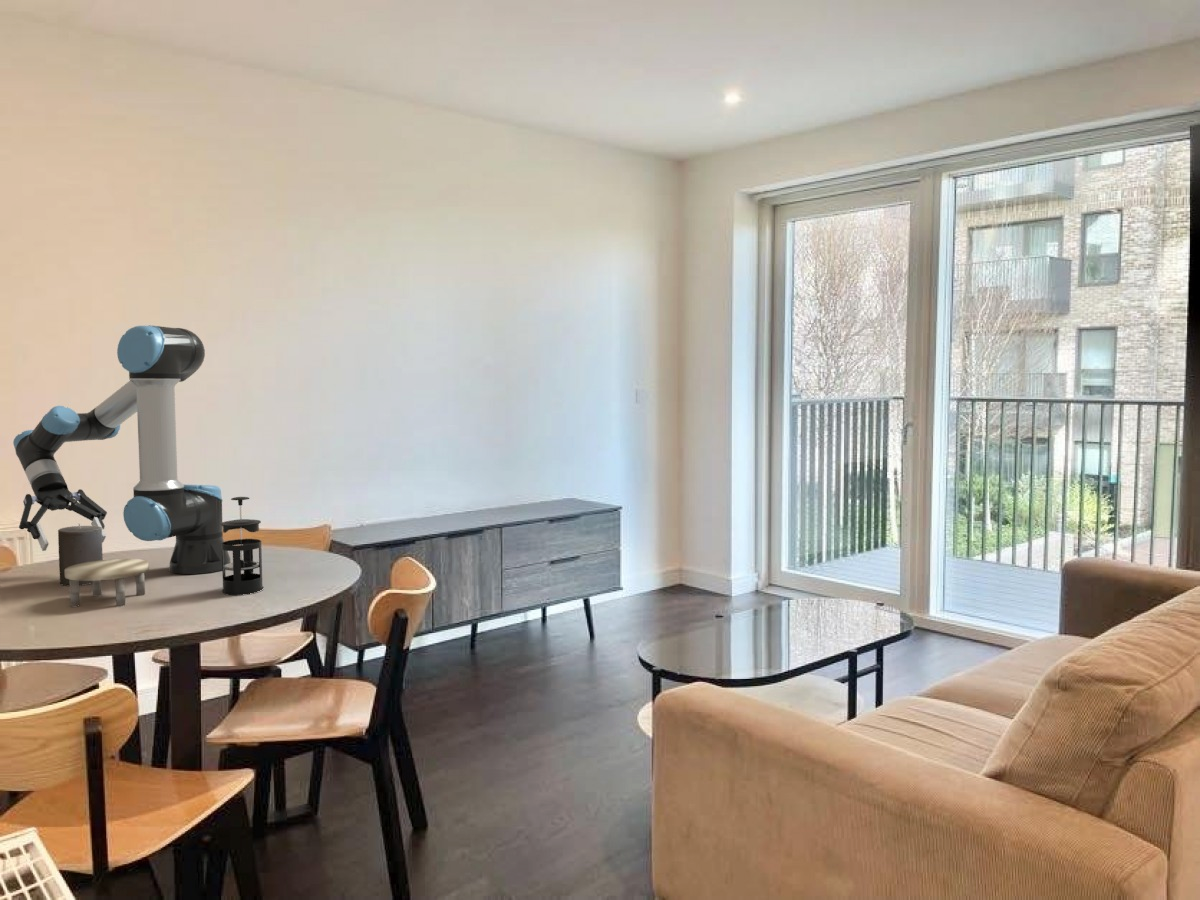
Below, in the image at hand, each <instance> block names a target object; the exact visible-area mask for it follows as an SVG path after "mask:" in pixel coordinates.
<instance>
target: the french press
mask: <svg viewBox="0 0 1200 900" xmlns="http://www.w3.org/2000/svg"><path fill="white" fill-rule="evenodd" d="M249 499H251V498H250V497H249V496H234V497H232V498H231V499H230V500H231V501H237V503H238V506H239V519H233V520H232V519H231V520H228V521H227V520H226V521H222V523H221V525H222V526H223V533H224V534H225V533H227V532H228V531H230V530H238V529H239V530H240V531H239V533H240V538H239V539H230V540H225V541H224V542H222V570H221V571H222V590H221V593H222V594H223V595H226V594H228V596H244V595H243V594H247V595H251V594H250V593H253V594H255V593H254V592H257V591H260V590H262V589H263V588H264V586H263V558H262V556H263V555H262V552H263V551H262V539H261V540H260V539H256V538H243V529H244V530H245V531H248V532H249V533H256V532H259V530H260V524H261V522H262V521H261V520H258V519H249V518H243V519H242V506H243V501H245V500H249ZM257 549H258V561H254V551H253V550H257ZM225 550H226V551H229V552H232V562H231V563H229V564H226V565H225ZM258 568H259V573H256V572H255V573H254V569H258ZM226 571H231V572H232V573H233V574H231V575H227V576H226ZM242 571H243V573H242ZM263 590H264V589H263ZM263 590H262V591H263ZM260 592H261V591H260ZM257 593H258V592H257Z"/></svg>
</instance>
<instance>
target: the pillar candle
mask: <svg viewBox="0 0 1200 900" xmlns="http://www.w3.org/2000/svg"><path fill="white" fill-rule="evenodd" d="M57 532H58V533H57V534H58V535H57V536H58V538H57V539H58V540H57V541H58V544H57V545H58V565H59V582H58V583H59V585H61V584H63V585H62V586H67V585H70V584H69V579H66V578H65V569H66V568H67V567H70V566H73V565H76V564H81V563H86V562H92V561H99V560H104V558H103V554H104V553H103V543H102V527H99V526H92V525H81V523H78V525H76V526H75V525H74V526H67V527H62V528H59V529H58V530H57ZM89 583H92V581H79V586H83V585H82V584H87V585H90V584H89Z"/></svg>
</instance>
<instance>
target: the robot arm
mask: <svg viewBox="0 0 1200 900" xmlns="http://www.w3.org/2000/svg"><path fill="white" fill-rule="evenodd" d="M116 351H117V353H116V354H117V360H118V362H119V364H121V367H122V368H123V369H124V370H126V371H127V372H128V378H129V381H127V382H126V383H125V384H124V385H122V386H121V387H120V388H118V390H116V391H115V392H113V393H112V394H111V395H109V397H107V398H105V400H103V401H102V402H101V403H100V404H98V405H97V406H95V407H94V408H93V409H92V410H90V411H88V412H85V413H84V412H82V413H77V412H76V411H75V410H73V409H72V408H71V407H66V406H64V405H57V406H53V407H52V408H50V409H49V411H48V412H47V413H46V414H45V415H43V416H42V418H41V420H40V421H39V423H37V425H36V426H35V428H34V429H28V430H27V429H26V430H23V431H22V432H21V433H19V434H16V436H15V437H14V439H13V443H12V444H13V446H14V450H15V455H16V457H17V458H18V460H19V463H20V464H21V466H22V470H23V471H24V473H25V475H26V479H27V480H28V483H29V485H30V486H31V489H32V492H33V494H34V495H31V494H30V493H26V494H25V496H24V499H23V505H24V506H23V507H24V508H23V512H22V515H21V518H20V523H19V526H18V528H19V530H24V529H26V530H27V531H26V532H28V533H30V534H31V537H32V538H33V540H37V541H38V543H39V545H40V549H41V550H42V552H44V551H47V549H48V548H49V544H50V543H49V541H48V539H47V537H46V534H45V532H44V529H43V527H42V525H41V523H39V522H40V520H41V519H42V518H43V516H44V515H45V513H46V512H47V511H48V510H50V511H51V512H54V511H57V510H59V511H60V510H61V511H62V510H65V509H66V510H68V511H72V512H74V513H76V514H78V515H79V516H82V517H84V518H86V519H87V520H90V521H91V525H90V526H99V527H102V544H103V543H104V542H105V540H106V537H107V535H106V533H105V531H104V529H105V528H106V527H105V523H104V520H105V518H106V516H107V514H108V512H107V511H106V510H105V509H104V508H103V507H101V506H100V505H99V504H97V502H95V501H94V500H92V499H91V498H90V497H89V496H88V495H86V493H85V492H84V490H83V489H78V490H77V491H74V492H71V491H70V490H69V488H68V485H67V482H66V480H65V478H64V476H63V474H62V472H61V471H62V470H61V469H60V467H59V465H58V463H57V460H56V459H55V456H54V455H55V453H56V452H57V451H58V450H59V449H61V447H62V445H64V443H72V442H82V441H100V440H101V441H104V440H107V439H112V438H115V437H116V436H117V435H118V434H119V431H120V429H121V424H123V423H124V422H126V421H127V420H128V419H129V418H131V417H132V416H133V415H135V414H136V413H137V435H138V439H137V440H138V466H139V467H138V468H139V469H138V470H139V482H138V483H137V484H135V485H134V487H133V497H131V499H129V500H128V501H127V502H126V504H125V505H124V507H123V512H122V515H123V520H124V524H125V526H126V528H127V530H128V531H129V532H130V533H132V535H133V536H134V537H135V538H136V539H138V540H141V541H145V542H153V541H163V540H165V539H169V538H173V537H175V544H174V547H173V550H172V553H171V556H170V557H171V558H170V560H169V572H171V573H172V574H173V573H174V574H181V575H185V574H186V575H195V574H209V573H215V572H219V571H222V542H225V541H224V535H223V526H222V525H221V523H222V522H223V498H222V490H221V488H220V487H219V486H217V485H210V484H209V485H208V484H205V485H204V484H183V483H182V482H181V481H180V480H179V479H178V460H177V459H178V458H177V457H178V456H177V453H178V452H177V431H176V430H177V429H176V428H177V426H176V424H177V423H176V397H175V395H176V394H175V387H176V386H177V384H178V383H182V382H184V381H186V380H187V379H189V378H190V377H191V376H193V375H194V374H195V373H196V372H197V371H198V370H199V369H200V368H201V367H202V365H203V362H204V359H205V356H206V355H205V354H206V353H205V352H206V351H205V347H204V344H203V341H202V340H201V339H200V337H199V336H198V335H197V334H196V333H194V332H192V331H191V330H189V329H186V328H180V327H171V326H170V327H169V326H160V325H151V324H150V325H136V326H133V327H131V328H129V329H128V330H126V331H125V333H124V334H122V335H121V337H120V339H119V342H118V344H117V350H116ZM35 502H36V503H37V504H39V505H40V508H38V511H37V512H36V513H35V515H34V516H33V517H32V519H31V520H30V521H28V520H29V515H30V514H31V513H30V512H31V509H32V505H34V504H35ZM229 563H232V561H231V556H230V554H229V552H228V551H226V550H225V565H226V564H229Z"/></svg>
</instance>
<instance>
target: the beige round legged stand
mask: <svg viewBox="0 0 1200 900" xmlns="http://www.w3.org/2000/svg"><path fill="white" fill-rule="evenodd" d="M149 569H150V567H149V561H147V560H145V559H141V558H140V559H139V558H114V559H113V558H112V559H111V558H110V559H103V560H99V561H92V562H86V563H81V564H76V565H73V566H70V567H67V568H66V569H65V578H66V579H69V584H70V586H69V600H70V601H69V602H70V607H71V606H77V607H79V606H78V605H81V602H80V585H79V581H92V583H93V584H92V596H93V595H100V596H102V595H101V594H103V592H102V581H109V580H114V582H115V584H114V585H115V606H116V607H123V605H124V606H125V605H126V593H125V592H126V591H125V587H126V586H125V578H129V577H130V578H131V577H134V576H135V586H136V587H135V589H136V590H135V591H136V596H144V594H145V595H146V586H145V584H146V582H145V573H146V572H148V571H149ZM101 580H102V581H101Z"/></svg>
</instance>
